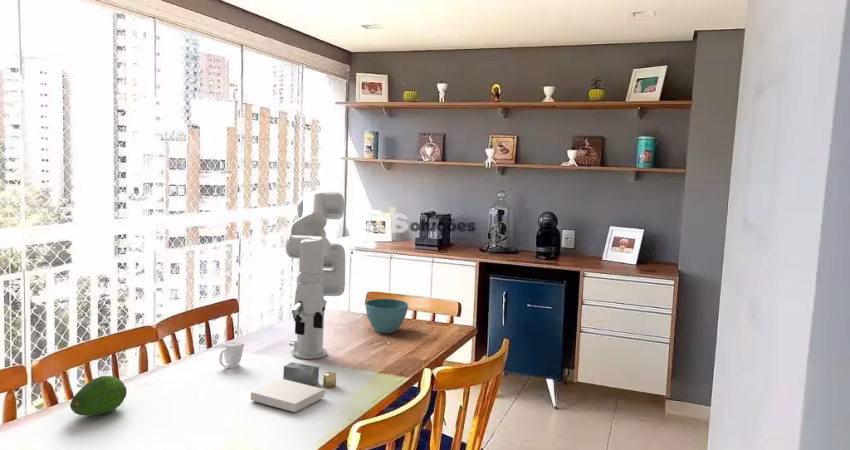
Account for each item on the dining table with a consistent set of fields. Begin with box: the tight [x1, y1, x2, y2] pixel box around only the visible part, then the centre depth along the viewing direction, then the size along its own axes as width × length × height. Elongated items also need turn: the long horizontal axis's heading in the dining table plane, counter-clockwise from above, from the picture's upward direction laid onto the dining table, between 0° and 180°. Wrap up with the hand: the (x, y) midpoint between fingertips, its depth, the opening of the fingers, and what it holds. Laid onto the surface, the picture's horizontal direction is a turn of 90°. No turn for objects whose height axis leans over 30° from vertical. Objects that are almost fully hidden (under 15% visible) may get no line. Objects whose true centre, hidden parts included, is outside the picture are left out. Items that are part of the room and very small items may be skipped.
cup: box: [218, 339, 245, 369], centre depth 210 cm, size 7×10×8 cm
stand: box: [250, 378, 325, 413], centre depth 183 cm, size 16×14×3 cm
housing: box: [282, 361, 320, 387], centre depth 198 cm, size 10×5×6 cm, turn 71°
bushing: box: [322, 371, 337, 389], centre depth 197 cm, size 4×4×4 cm
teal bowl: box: [365, 298, 409, 334], centre depth 267 cm, size 18×18×12 cm
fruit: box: [69, 375, 127, 416], centre depth 166 cm, size 15×10×10 cm, turn 156°
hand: (308, 331), depth 197 cm, fingers open, 9 cm apart
